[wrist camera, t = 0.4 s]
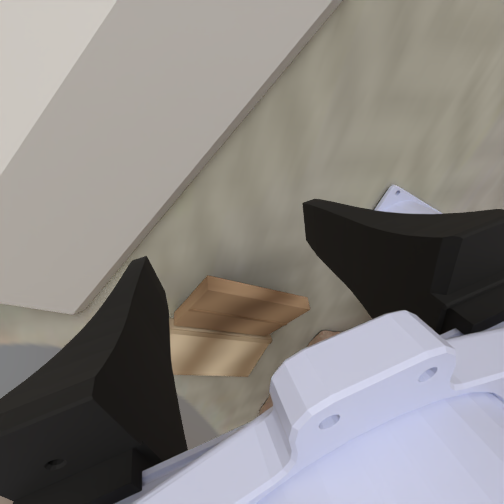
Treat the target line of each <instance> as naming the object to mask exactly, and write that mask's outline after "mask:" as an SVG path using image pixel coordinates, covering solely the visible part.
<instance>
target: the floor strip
mask: <svg viewBox="0 0 504 504" xmlns="http://www.w3.org/2000/svg"><path fill="white" fill-rule="evenodd" d="M169 326H170V348H171V362H172V370H173V375H207V376H240V377H248V376H249V374H250V373H251V371H252V370H253V368H254V366H255V365H256V363H257V362H258V360H259V359H260V357H261V356H262V354H263V353H264V351H265V349H266V348H267V346H268V345H269V344H271V342H272V338H271V336H270V334H269V335H267V336H259V335H251V334H242V333H234V332H225V331H217V330H208V329H200V328H191V327H183V326H174V319H171V318H169Z"/></svg>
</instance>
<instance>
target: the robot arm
mask: <svg viewBox="0 0 504 504" xmlns="http://www.w3.org/2000/svg"><path fill="white" fill-rule="evenodd" d="M396 192H397V193H396ZM303 212H304V223H305V233H306V241H307V242H308V243H309V245H310V246H311V248H312V249H313V251H314V252H315V253H316V255H317V256H318V257H319V258H320V259H321V260H322V261H323V262H324V263H325V264H326V265H327V266H328V267H329V268H330V269H331V270H332V271H333V272H334V273H335V274H336V275H337V276H338V277H339V278H340V279H341V280H342V281H343V282H344V283H345V284H346V286H347V287H348V288H349V289H350V290H351V291H352V292H353V294H354V295H355V296H356V297H357V299H358V300H359V301H360V302H361V304H362V305H363V306H364V308H365V309H366V310H367V312H368V313H369V314H370V316H371V317H372V320H369V321H367V322H365V323H362V324H360V325H358V326H355V327H353V328H351V329H348V330H346V331H344V332H341V333H339V334H337V335H334V336H332V337H330V338H327V339H325V340H323V341H320V342H318V343H316V344H313V345H311V346H309V347H306V348H304V349H302V350H300V351H298V352H297V353H295V354H294V355H292V356H290V357H289V358H287V359H286V360H284V361H283V363H282V364H281V365H280V366H279V368H278V369H277V370H276V371H275V373H274V374H273V376H272V377H271V383H270V390H269V392H270V395H271V399H272V402H273V406H272V407H271V408H269V409H268V410H266V411H265V412H263V413H262V414H261V415H259V416H258V417H256V418H255V419H253V420H252V421H250V422H249V423H247V424H244V425H242V426H240V427H238V428H236V429H233V430H231V431H229V432H227V433H225V434H223V435H220V436H218V437H216V438H214V439H212V440H209V441H207V442H205V443H203V444H201V445H199V446H196V447H194V448H192V449H190V450H188V449H187V444H186V440H185V435H184V430H183V425H182V420H181V415H180V410H179V404H178V399H177V393H176V388H175V382H174V376H173V370H172V362H171V348H170V326H169V310H168V304H167V299H166V294H165V291H164V289H163V287H162V285H161V283H160V281H159V279H158V277H157V275H156V273H155V271H154V269H153V267H152V265H151V264H150V262H149V260H148V258H147V256H145V257H142V258H139V259H136V260H133V261H132V262H131V263H130V264H129V266H128V268H127V269H126V271H125V272H124V274H123V276H122V277H121V279H120V280H119V282H118V283H117V285H116V286H115V288H114V290H113V291H112V292H111V294H110V295H109V297H108V298H107V299H106V301H105V302H104V303H103V305H102V306H101V308H100V309H99V310H98V311H97V313H96V314H95V315H94V316H93V318H92V319H91V320H90V321H89V322H88V323H87V324H86V325H85V327H84V328H83V329H82V330H81V331H80V332H79V333H78V334H77V335H76V336H75V337H74V338H73V339H72V340H71V341H70V342H69V343H68V344H67V345H66V346H65V347H64V348H63V349H62V350H61V351H60V352H59V353H57V354H56V355H55V356H54V357H53V358H52V359H51V360H49V361H48V362H47V363H46V364H45V365H44V366H42V367H41V368H40V369H39V370H38V371H36V372H35V373H34V374H33V375H31V376H30V377H29V378H28V379H26V380H25V381H24V382H22V383H21V384H20V385H18V386H17V387H16V388H14V389H13V390H12V391H10V392H9V393H8V394H6V395H5V396H3V397H2V398H1V399H0V496H2V497H5V498H7V499H10V500H12V501H14V502H13V504H504V210H503V209H494V210H484V211H475V212H466V213H448V214H442V213H441V212H439V211H437V210H436V209H434V208H432V207H431V206H429V205H428V204H426V203H424V202H423V201H421V200H419V199H418V198H416V197H415V196H413V195H411V194H410V193H408V192H406V191H405V190H403V189H402V188H400V187H398V186H396V185H392V186H390V187H389V189H388V190H387V191H386V193H385V194H384V196H383V197H382V199H381V200H380V202H379V203H378V205H377V206H376V208H375V209H374V210H370V209H364V208H359V207H354V206H349V205H344V204H340V203H335V202H331V201H326V200H320V199H313V200H310V201H307V202H304V203H303Z"/></svg>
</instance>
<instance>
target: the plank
mask: <svg viewBox="0 0 504 504" xmlns="http://www.w3.org/2000/svg"><path fill="white" fill-rule="evenodd" d="M309 310H310V306H309V302H308V298H307V297H303V296H298V295H294V294H289V293H285V292H280V291H276V290H271V289H267V288H262V287H258V286H253V285H249V284H244V283H240V282H235V281H231V280H226V279H222V278H217V277H213V276H207V277H206V278H205V279H204V280H203V281H202V282H201V283H200V285H199V286H198V287H197V288H196V289H195V290H194V291H193V292H192V293H191V295H190V296H189V297H188V298H187V299H186V300H185V301H184V302H183V304H182V305H181V306H180V307H179V308H178V309H177V310H176V311H175V313H174V326H183V327H191V328H200V329H208V330H217V331H225V332H234V333H242V334H251V335H259V336H267V335H269V334H270V333H272V332H274V331H275V330H277V329H279V328H280V327H282V326H284V325H287V323H289V322H290V321H292V320H294V319H295V318H297V317H299V316H300V315H302V314H304V313H305V312H307V311H309Z"/></svg>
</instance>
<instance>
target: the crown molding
mask: <svg viewBox="0 0 504 504" xmlns="http://www.w3.org/2000/svg"><path fill="white" fill-rule="evenodd" d="M342 1H343V0H0V303H1V304H7V305H14V306H20V307H27V308H33V309H40V310H46V311H52V312H59V313H65V314H72V315H73V314H76V313H78V312H80V311H83V310H85V309H86V307H87V306H88V305H89V304H90V303H91V301H92V300H93V299H94V298H95V297H96V295H97V294H98V293H99V292H100V291H101V289H102V288H103V287H104V286H105V285H106V283H107V282H108V281H109V280H110V279H111V277H112V276H113V275H114V274H115V273H116V272H117V270H118V269H119V268H120V267H121V266H122V264H123V263H124V262H125V261H126V260H127V258H128V257H129V256H130V255H131V254H132V252H133V251H134V250H135V249H136V248H137V246H138V245H139V244H140V243H141V242H142V240H143V239H144V238H145V237H146V236H147V234H148V233H149V232H150V231H151V230H152V228H153V227H154V226H155V225H156V224H157V222H158V221H159V220H160V219H161V218H162V216H163V215H164V214H165V213H166V212H167V210H168V209H169V208H170V207H171V206H172V204H173V203H174V202H175V201H176V200H177V198H178V197H179V196H180V195H181V194H182V192H183V191H184V190H185V189H186V188H187V186H188V185H189V184H190V183H191V182H192V180H193V179H194V178H195V177H196V176H197V174H198V173H199V172H200V171H201V170H202V168H203V167H204V166H205V165H206V164H207V162H208V161H209V160H210V159H211V158H212V157H213V155H214V154H215V153H216V152H217V151H218V149H219V148H220V147H221V146H222V145H223V143H224V142H225V141H226V140H227V139H228V137H229V136H230V135H231V134H232V133H233V131H234V130H235V129H236V128H237V127H238V125H239V124H240V123H241V122H242V121H243V119H244V118H245V117H246V116H247V115H248V113H249V112H250V111H251V110H252V109H253V107H254V106H255V105H256V104H257V103H258V101H259V100H260V99H261V98H262V97H263V95H264V94H265V93H266V92H267V91H268V89H269V88H270V87H271V86H272V85H273V83H274V82H275V81H276V80H277V79H278V77H279V76H280V75H281V74H282V73H283V71H284V70H285V69H286V68H287V67H288V65H289V64H290V63H291V62H292V61H293V59H294V58H295V57H296V56H297V55H298V53H299V52H300V51H301V50H302V49H303V48H304V46H305V45H306V44H307V43H308V42H309V40H310V39H311V38H312V37H313V36H314V34H315V33H316V32H317V31H318V30H319V28H320V27H321V26H322V25H323V24H324V22H325V21H326V20H327V19H328V18H329V16H330V15H331V14H332V13H333V12H334V10H335V9H336V8H337V7H338V6H339V4H340V3H341V2H342Z"/></svg>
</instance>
